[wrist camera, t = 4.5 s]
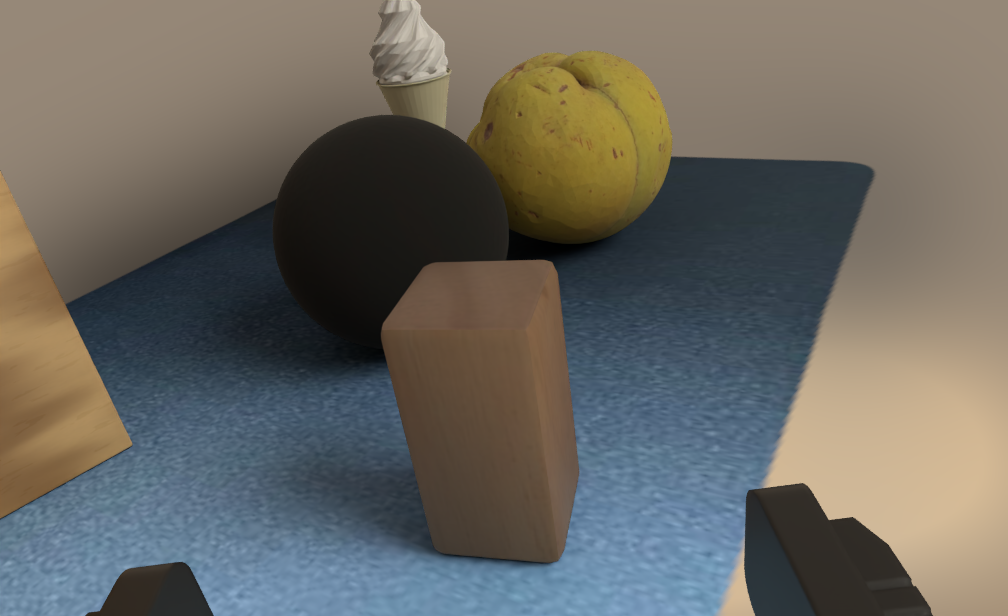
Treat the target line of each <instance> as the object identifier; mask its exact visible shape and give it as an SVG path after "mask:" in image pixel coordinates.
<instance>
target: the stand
mask: <svg viewBox="0 0 1008 616" xmlns="http://www.w3.org/2000/svg"><path fill="white" fill-rule="evenodd" d="M131 446H132V442H131V440H130V438H129V435H128V433H127V431H126V429H125V427H124V425H123V423H122V421H121V419H120V417H119V415H118V413H117V411H116V409H115V407H114V404H113V402H112V400H111V398H110V396H109V394H108V392H107V390H106V388H105V386H104V384H103V382H102V380H101V378H100V376H99V373H98V371H97V369H96V367H95V365H94V363H93V361H92V359H91V357H90V355H89V353H88V351H87V349H86V347H85V345H84V342H83V340H82V338H81V336H80V334H79V332H78V330H77V328H76V326H75V324H74V322H73V320H72V318H71V316H70V314H69V311H68V309H67V307H66V305H65V303H64V301H63V299H62V297H61V295H60V293H59V291H58V289H57V287H56V285H55V283H54V281H53V278H52V276H51V274H50V272H49V270H48V268H47V266H46V264H45V262H44V260H43V258H42V256H41V254H40V252H39V250H38V247H37V245H36V243H35V241H34V239H33V237H32V235H31V233H30V231H29V229H28V227H27V225H26V223H25V221H24V219H23V216H22V214H21V212H20V210H19V208H18V206H17V204H16V202H15V200H14V198H13V196H12V194H11V192H10V190H9V188H8V185H7V184H6V181H5V179H4V177H3V175H2V173H1V171H0V519H1V518H2V517H4V516H6V515H8V514H10V513H11V512H13V511H15V510H17V509H19V508H20V507H22V506H24V505H26V504H28V503H29V502H31V501H33V500H35V499H37V498H38V497H40V496H42V495H44V494H46V493H48V492H49V491H51V490H53V489H55V488H57V487H58V486H60V485H62V484H64V483H66V482H67V481H69V480H71V479H73V478H75V477H76V476H78V475H80V474H82V473H84V472H85V471H87V470H89V469H91V468H93V467H95V466H96V465H98V464H100V463H102V462H104V461H105V460H107V459H109V458H111V457H113V456H114V455H116V454H118V453H120V452H122V451H123V450H125V449H127V448H129V447H131Z"/></svg>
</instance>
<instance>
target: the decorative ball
mask: <svg viewBox="0 0 1008 616" xmlns="http://www.w3.org/2000/svg"><path fill="white" fill-rule="evenodd" d="M273 243H274V250H275V255H276V260H277V263H278V266H279V269H280V272H281V275H282V277H283V279H284V281H285V284H286V285H287V287H288V289H289V291H290V292H291V294H292V295H293V297H294V298H295V300H296V301H297V302H298V304H299V305H300V306H301V308H302V309H303V310H304V311H305V312H306V313H307V314H308V315H309V316H310V317H311V318H312V319H313V320H315V321H316V322H317V323H318V324H319V325H321V326H322V327H324V328H325V329H327V330H328V331H330V332H331V333H333V334H335V335H337V336H339V337H341V338H343V339H345V340H347V341H350V342H352V343H355V344H358V345H362V346H366V347H371V348H377V349H383V345H382V341H381V331H382V326H383V323H384V321H385V320H386V319H387V317H388V316H389V315H390V313H391V312H392V310H393V309H394V308H395V306H396V305H397V303H398V302H399V301H400V299H401V298H402V296H403V295H404V294H405V292H406V291H407V289H408V288H409V287H410V285H411V284H412V282H413V281H414V280H415V278H416V277H417V275H418V274H419V273H420V271H421V270H422V268H423V267H425V266H427V265H429V264H431V263H436V262H475V261H506V257H507V252H508V244H509V225H508V216H507V211H506V206H505V202H504V199H503V196H502V193H501V190H500V188H499V186H498V184H497V182H496V180H495V178H494V176H493V174H492V173H491V171H490V170H489V168H488V166H487V165H486V164H485V162H484V161H483V160H482V159H481V158H480V156H479V155H478V154H477V153H476V152H475V151H474V150H473V149H472V148H471V147H470V146H469V145H468V144H467V143H465V142H464V141H463V140H461V139H460V138H459V137H458V136H456V135H454V134H452V133H451V132H450V131H448V130H446V129H444V128H442V127H440V126H438V125H436V124H433V123H431V122H428V121H425V120H421V119H418V118H413V117H408V116H400V115H378V116H371V117H365V118H360V119H357V120H353V121H351V122H348V123H346V124H343V125H340V126H338V127H336V128H334V129H333V130H331V131H329V132H327V133H326V134H324V135H323V136H321V137H320V138H318V139H317V140H316V141H315V142H313V143H312V144H311V145H310V146H309V147H308V148H307V149H306V150H305V151H304V152H303V153H302V154H301V156H300V157H299V158H298V159H297V160H296V162H295V163H294V165H293V166H292V167H291V169H290V171H289V172H288V174H287V176H286V178H285V180H284V182H283V184H282V187H281V189H280V192H279V195H278V198H277V201H276V206H275V211H274V217H273Z"/></svg>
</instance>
